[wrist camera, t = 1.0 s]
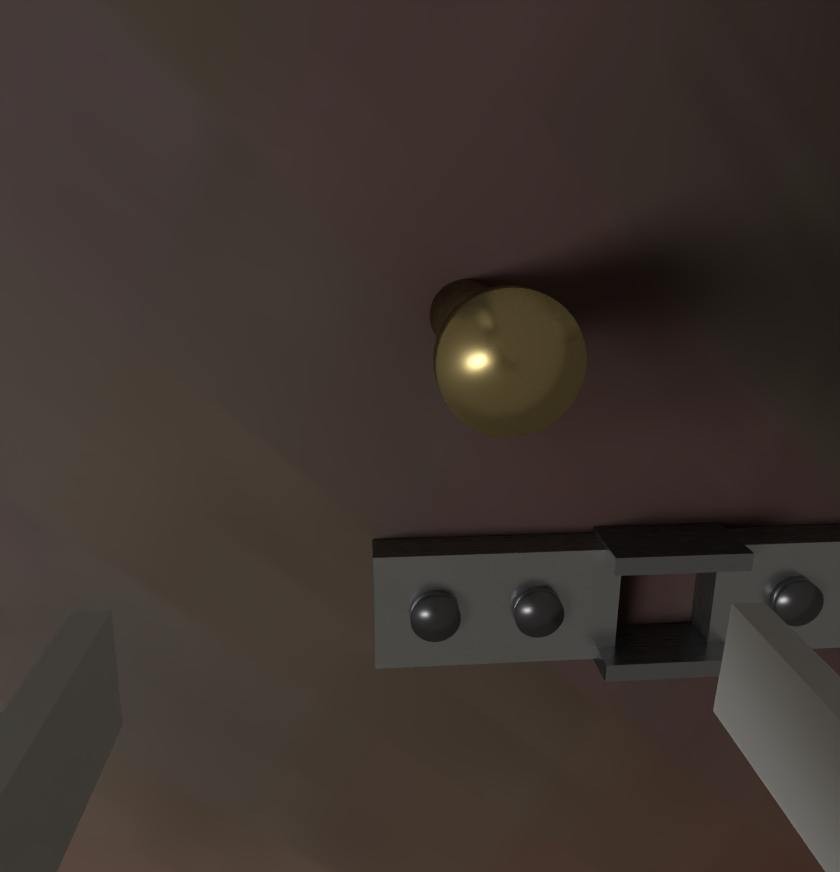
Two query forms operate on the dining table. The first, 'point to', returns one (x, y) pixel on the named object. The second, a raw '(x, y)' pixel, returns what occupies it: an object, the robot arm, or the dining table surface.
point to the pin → (505, 357)
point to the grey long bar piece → (596, 595)
